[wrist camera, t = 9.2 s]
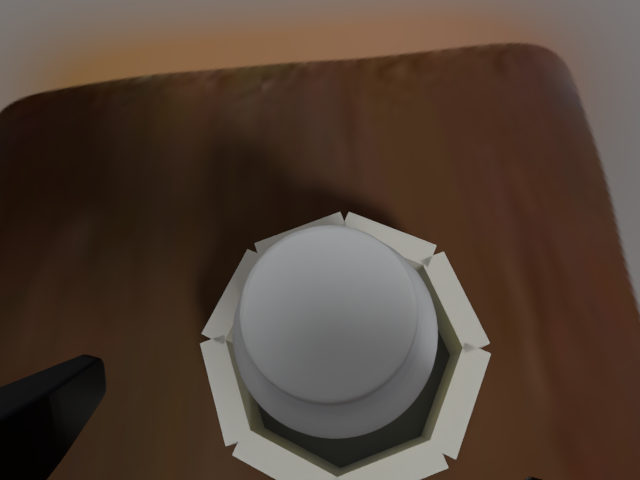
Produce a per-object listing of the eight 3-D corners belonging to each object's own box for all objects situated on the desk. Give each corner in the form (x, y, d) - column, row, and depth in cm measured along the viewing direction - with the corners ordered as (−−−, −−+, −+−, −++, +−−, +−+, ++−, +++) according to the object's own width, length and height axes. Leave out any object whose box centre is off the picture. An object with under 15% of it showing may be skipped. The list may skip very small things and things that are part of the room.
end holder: (418, 551, 17) (430, 581, 14) (175, 417, 19) (143, 419, 16) (505, 290, 20) (529, 270, 17) (288, 205, 23) (277, 175, 20)
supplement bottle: (349, 269, 20) (343, 149, 11) (435, 365, 19) (517, 320, 9) (254, 348, 19) (154, 292, 10) (335, 456, 18) (308, 516, 8)
